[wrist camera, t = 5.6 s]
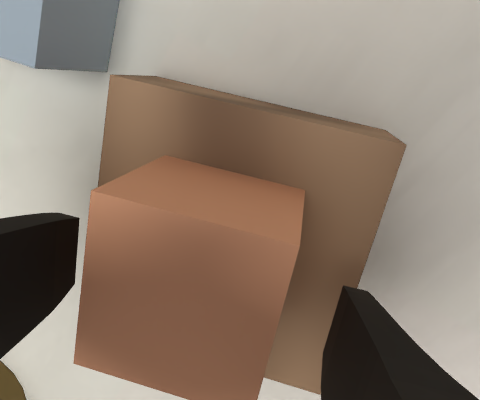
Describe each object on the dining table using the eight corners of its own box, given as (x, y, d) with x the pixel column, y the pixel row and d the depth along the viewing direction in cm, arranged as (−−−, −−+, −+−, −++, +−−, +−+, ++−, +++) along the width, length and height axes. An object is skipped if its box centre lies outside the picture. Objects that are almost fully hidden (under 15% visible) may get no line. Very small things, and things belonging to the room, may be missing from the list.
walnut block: (384, 129, 15) (406, 145, 12) (319, 329, 18) (320, 394, 14) (158, 76, 16) (110, 74, 13) (129, 273, 19) (83, 321, 15)
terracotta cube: (305, 190, 12) (300, 245, 8) (271, 315, 14) (251, 419, 10) (165, 155, 13) (91, 190, 9) (145, 279, 14) (73, 363, 10)
